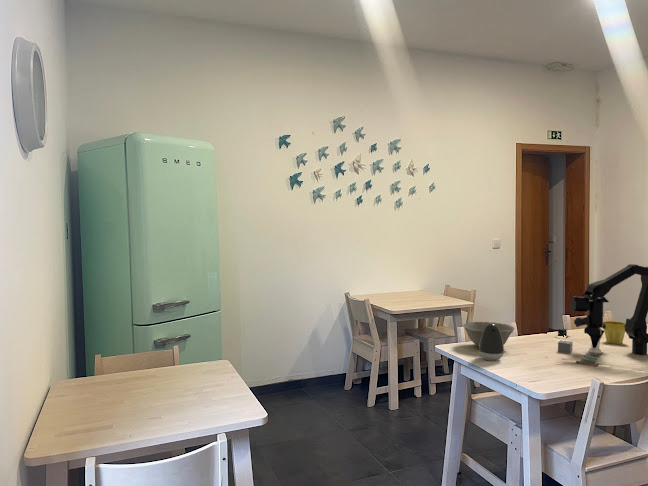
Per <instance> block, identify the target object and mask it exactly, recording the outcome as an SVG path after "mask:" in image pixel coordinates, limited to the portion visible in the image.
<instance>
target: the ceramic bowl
mask: <svg viewBox="0 0 648 486" xmlns="http://www.w3.org/2000/svg"><path fill="white" fill-rule="evenodd" d="M488 324H495V325H496V326H497V327H498V329H499V330H500V333H501V336H502V340H503V345H505V344H506V343H507V341H508V339H509V338H510V335H512V333H513V332H514V330H515V327H514V326H513V325H512V326H511V325H509V324H506V323H499V322H489V321H470V322H465V323H464V324H463V328H464V329H465V333H466V334H467V336H468V338H469V340H470V341H471V342H472V343H473V344H474V345H475V346H477V347H478V348H479V343H480V338H481V335H482V332H483V330H484V328H485V326H486V325H488Z"/></svg>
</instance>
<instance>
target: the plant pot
mask: <svg viewBox="0 0 648 486" xmlns="http://www.w3.org/2000/svg"><path fill="white" fill-rule="evenodd" d="M603 322H604V323H605V324H606V329H604V328H602V330H604V335H605V339H606V342H607V343H608V342H609V344H613V343H615V344H614V345H621V343H622V344H623V341H624V337H625V334H626V332H625V327H624V326H625V324H626V322H624V321H617V320H616V321H615V320H614V321H613V320H605V321H604V320H603Z"/></svg>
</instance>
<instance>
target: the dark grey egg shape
mask: <svg viewBox="0 0 648 486" xmlns="http://www.w3.org/2000/svg"><path fill="white" fill-rule="evenodd" d="M504 345H505V344H504ZM504 345H503V340H502V336H501V333H500V330H499V329H498V327H497V326H496V325H495V324H488V325H486V326H485V328H484V330H483V332H482V335H481V338H480V343H479V347H478V352H479V355H480V356H481V358H483V360H486V361H491V362H492V361H493V362H495V361H499V360H500V359H501V358H502V357H503V354H504V352H505V347H504Z"/></svg>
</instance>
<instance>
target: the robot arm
mask: <svg viewBox="0 0 648 486" xmlns="http://www.w3.org/2000/svg"><path fill="white" fill-rule="evenodd" d="M635 275H639V276H640V282H641V288H640V291H639V295H638V299H637V302H636V304H635V308H634V312H633V315H632V317H631V318H626V319H625V323H626V324H625V326H624V327H625V334H627V336H628V339H631V343H632V344H631V353H632V354H634V355H637V356H645V355H648V332H647V330H648V324H647V316H648V266H643V265H639V264H635V263H629V264H627V265H626V266H625V267H623V268H621V269H620V270H618V271H616V272H615V273H613V274H612V275H609V276H607V277H606V278H604V279H600V280H598V281H597V280H596V281H594V282H592V283H589V284H588V285H587V287H586V290H585V291H584V293H583V294H582V295H581V296H576V295H574V296H572V299H571V300H570V302H569V309H570V311H571V312H572V313H585V312H586V313H587V312H588V314H586V316H583V317H581V316H579V317H576V318H575V319H574V320H573V322H574V323H573V324H574V325H575V327H576V328H579V327H581V326H586V327H584V329H583V330H584V331H583V332H584V334H587V335H588V336H589V337H590V341H591V344H592V346H593V348H596V346H597V344H598V342H599V340H600V341H601V340H602V337H603V335H604V334H605V331H604V329H606V324H605V323H604V317H605V314H604V303H609V302H610V301H609V300H608V299H607V298H606V297H605V296H606V295H608V293H610V292H611V289H612V288H614V287H616V286H617V285H619V284H621V283H622V282H625V281H626V280H627V279H630V278H631V277H633V276H635ZM603 328H604V329H603Z"/></svg>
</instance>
